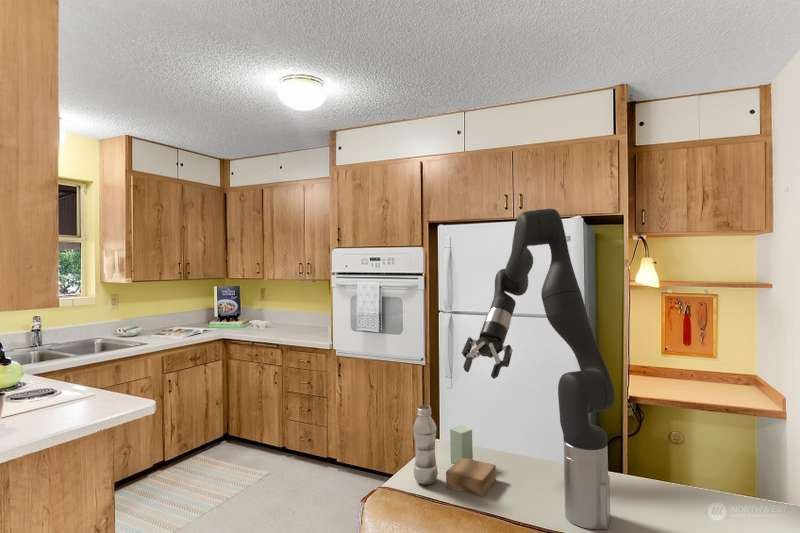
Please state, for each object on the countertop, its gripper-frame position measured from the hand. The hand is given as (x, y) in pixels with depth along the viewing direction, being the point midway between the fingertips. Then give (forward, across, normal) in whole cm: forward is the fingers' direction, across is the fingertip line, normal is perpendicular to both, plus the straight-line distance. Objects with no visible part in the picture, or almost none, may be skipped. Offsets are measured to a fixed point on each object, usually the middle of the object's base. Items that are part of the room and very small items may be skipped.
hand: (479, 374), depth 131 cm
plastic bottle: (+32, -5, +2) cm, 33 cm away
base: (+28, +5, +6) cm, 29 cm away
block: (+23, -2, +14) cm, 27 cm away
